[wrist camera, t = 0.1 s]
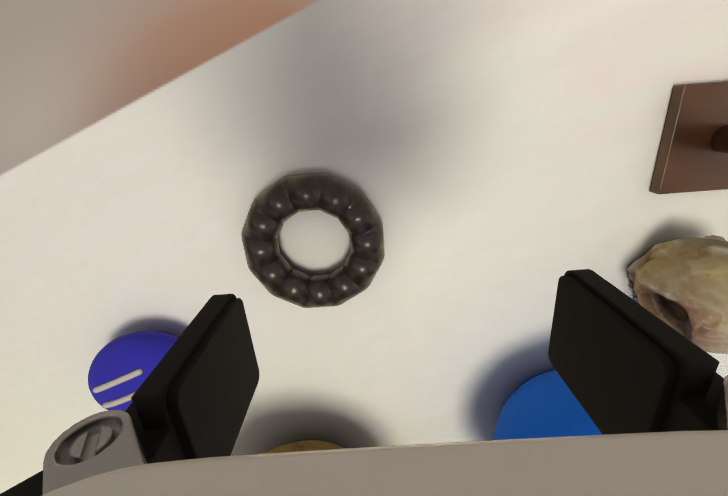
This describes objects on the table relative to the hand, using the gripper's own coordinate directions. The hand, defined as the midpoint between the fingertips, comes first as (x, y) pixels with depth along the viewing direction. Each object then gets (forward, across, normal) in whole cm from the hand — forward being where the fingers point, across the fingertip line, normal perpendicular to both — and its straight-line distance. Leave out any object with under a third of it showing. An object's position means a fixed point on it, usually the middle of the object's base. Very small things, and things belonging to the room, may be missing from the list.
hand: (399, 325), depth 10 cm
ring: (+18, +6, +4) cm, 20 cm away
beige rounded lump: (+20, -25, +10) cm, 34 cm away
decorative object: (+20, +23, +16) cm, 34 cm away
